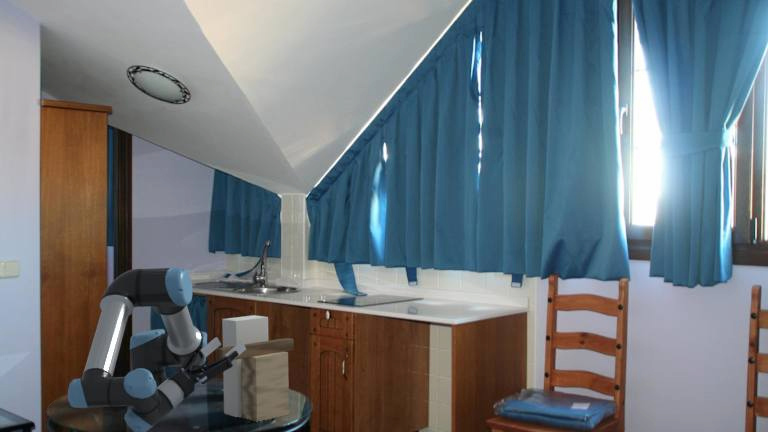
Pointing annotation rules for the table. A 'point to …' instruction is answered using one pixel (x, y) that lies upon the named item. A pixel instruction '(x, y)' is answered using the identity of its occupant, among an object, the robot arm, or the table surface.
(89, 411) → the table surface
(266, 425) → the table surface
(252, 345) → the walnut bar
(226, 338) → the white block
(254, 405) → the oak block
